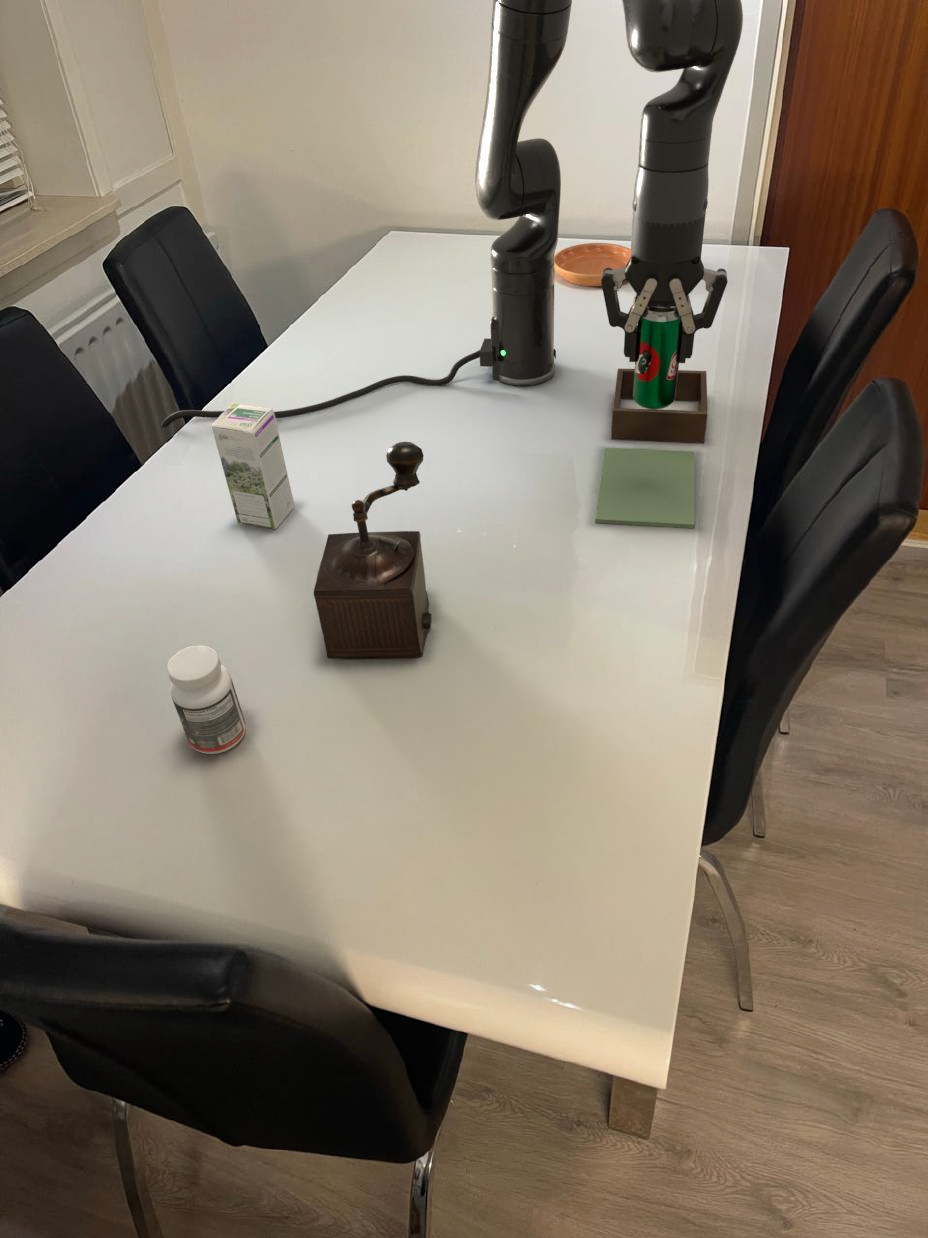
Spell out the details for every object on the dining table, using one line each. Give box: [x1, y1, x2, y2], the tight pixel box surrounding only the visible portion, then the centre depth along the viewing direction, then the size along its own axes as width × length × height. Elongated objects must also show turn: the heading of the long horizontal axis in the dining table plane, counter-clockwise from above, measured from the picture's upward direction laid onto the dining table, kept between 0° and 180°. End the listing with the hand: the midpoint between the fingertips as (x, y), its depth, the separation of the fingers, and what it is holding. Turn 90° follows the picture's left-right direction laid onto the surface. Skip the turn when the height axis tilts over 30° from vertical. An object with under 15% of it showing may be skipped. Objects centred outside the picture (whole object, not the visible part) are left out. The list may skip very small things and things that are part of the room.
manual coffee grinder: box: [313, 441, 433, 660], centre depth 99 cm, size 16×11×18 cm
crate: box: [610, 367, 708, 444], centre depth 132 cm, size 13×13×4 cm
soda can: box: [632, 304, 683, 410], centre depth 109 cm, size 5×5×12 cm
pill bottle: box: [166, 645, 247, 755], centre depth 89 cm, size 6×6×10 cm
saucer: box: [554, 242, 631, 287], centre depth 175 cm, size 16×16×3 cm
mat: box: [594, 447, 696, 529], centre depth 121 cm, size 12×17×1 cm
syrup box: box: [211, 403, 296, 530], centre depth 116 cm, size 6×6×14 cm
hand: (656, 359), depth 109 cm, fingers closed on soda can, 5 cm apart
